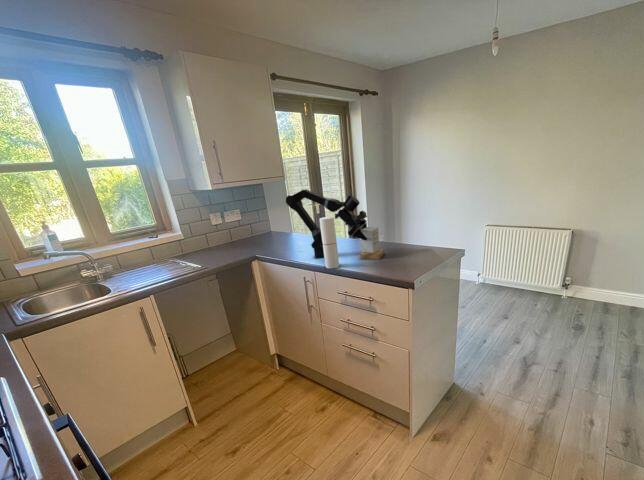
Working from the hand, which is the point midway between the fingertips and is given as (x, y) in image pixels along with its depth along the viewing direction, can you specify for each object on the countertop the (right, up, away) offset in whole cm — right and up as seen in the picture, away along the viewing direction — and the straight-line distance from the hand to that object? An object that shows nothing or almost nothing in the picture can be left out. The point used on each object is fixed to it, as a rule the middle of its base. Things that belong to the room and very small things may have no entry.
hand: (369, 237), depth 170 cm
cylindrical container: (-20, -17, -6) cm, 26 cm away
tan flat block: (+2, -10, +4) cm, 11 cm away
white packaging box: (+1, -7, +3) cm, 8 cm away
